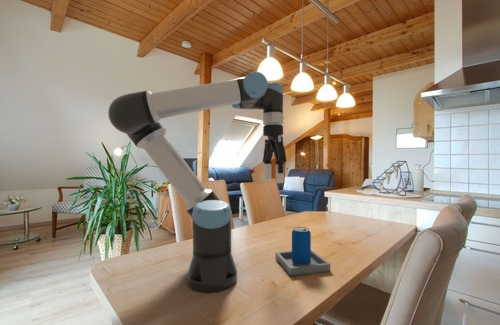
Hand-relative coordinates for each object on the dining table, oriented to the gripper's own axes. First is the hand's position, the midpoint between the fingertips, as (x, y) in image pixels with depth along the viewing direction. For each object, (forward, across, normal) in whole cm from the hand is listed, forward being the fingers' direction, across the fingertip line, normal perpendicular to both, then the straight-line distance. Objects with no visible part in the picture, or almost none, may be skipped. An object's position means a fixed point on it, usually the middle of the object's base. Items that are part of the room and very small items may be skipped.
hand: (273, 181), depth 91 cm
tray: (+29, -9, -7) cm, 31 cm away
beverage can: (+28, -9, -7) cm, 31 cm away
